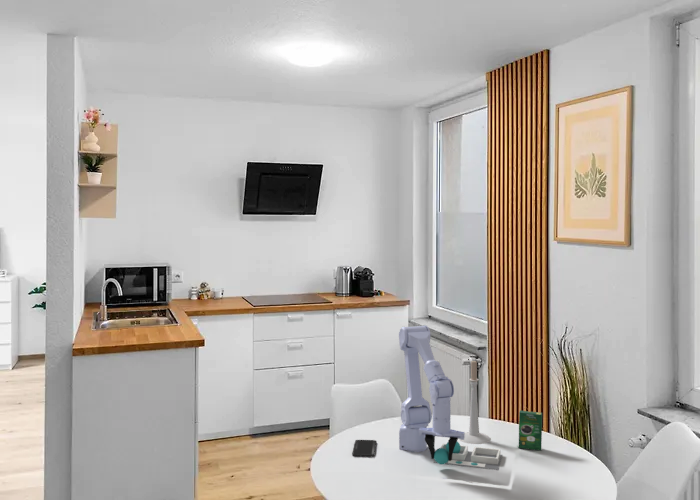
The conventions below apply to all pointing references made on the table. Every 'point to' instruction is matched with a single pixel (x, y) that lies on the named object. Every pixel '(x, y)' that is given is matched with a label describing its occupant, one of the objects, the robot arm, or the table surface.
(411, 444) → the robot arm
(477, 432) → the candlestick
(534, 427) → the coffee box
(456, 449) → the seated teal ball
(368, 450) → the phone
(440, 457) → the loose teal ball
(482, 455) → the sorting tray
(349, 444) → the table surface
